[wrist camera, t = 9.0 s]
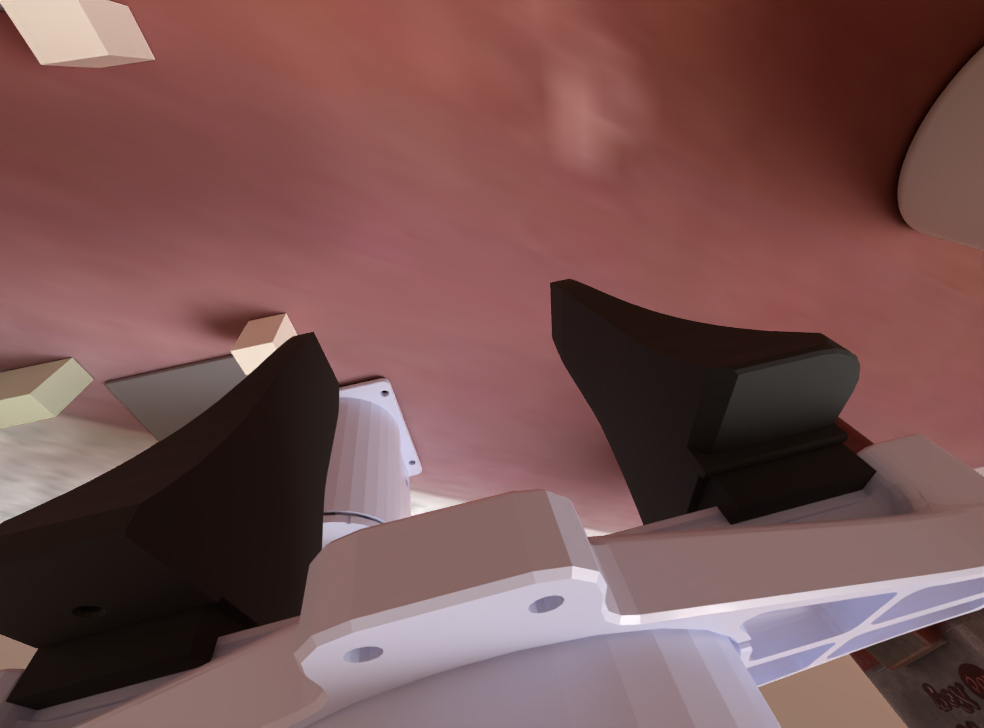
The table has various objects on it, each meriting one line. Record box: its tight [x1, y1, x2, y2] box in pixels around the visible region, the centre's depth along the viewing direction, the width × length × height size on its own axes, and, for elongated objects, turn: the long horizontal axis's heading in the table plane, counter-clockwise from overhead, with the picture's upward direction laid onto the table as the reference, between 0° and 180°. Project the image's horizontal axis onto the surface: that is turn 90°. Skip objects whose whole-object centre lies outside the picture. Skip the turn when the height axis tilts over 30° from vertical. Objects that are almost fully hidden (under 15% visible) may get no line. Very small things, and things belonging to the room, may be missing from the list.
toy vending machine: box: [834, 417, 984, 728], centre depth 27 cm, size 9×11×28 cm
